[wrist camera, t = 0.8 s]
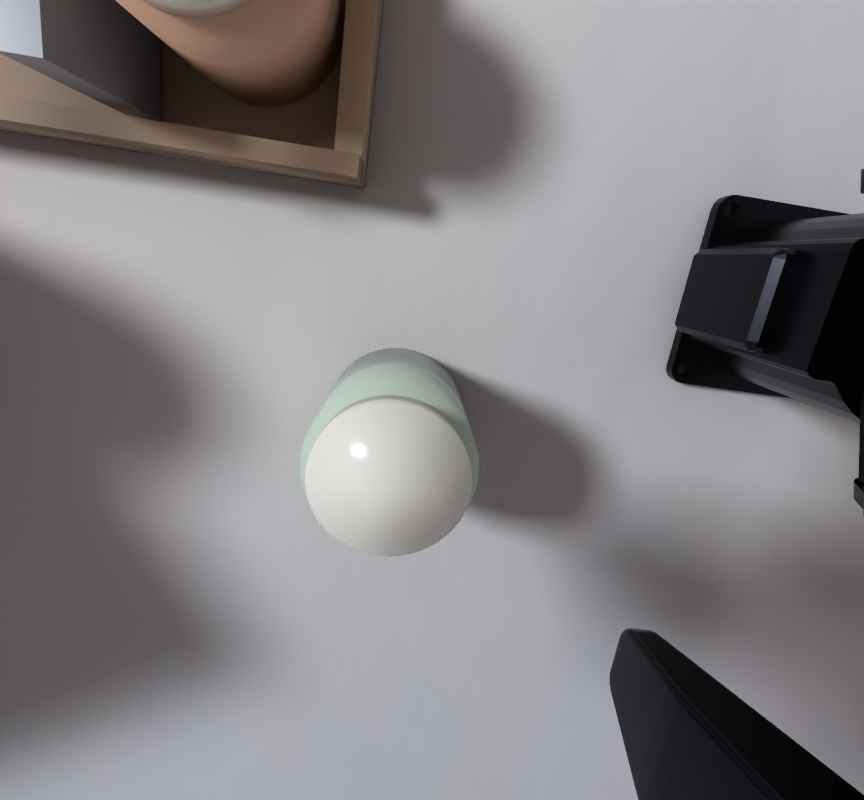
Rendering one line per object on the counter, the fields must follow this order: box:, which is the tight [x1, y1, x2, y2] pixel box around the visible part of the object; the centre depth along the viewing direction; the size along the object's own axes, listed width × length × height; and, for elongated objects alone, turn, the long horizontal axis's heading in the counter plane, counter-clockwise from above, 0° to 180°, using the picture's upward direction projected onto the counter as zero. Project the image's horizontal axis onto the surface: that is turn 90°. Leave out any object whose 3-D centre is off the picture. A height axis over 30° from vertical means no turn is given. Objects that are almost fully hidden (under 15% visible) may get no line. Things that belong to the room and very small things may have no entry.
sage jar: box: [300, 348, 480, 556], centre depth 16 cm, size 5×5×6 cm
